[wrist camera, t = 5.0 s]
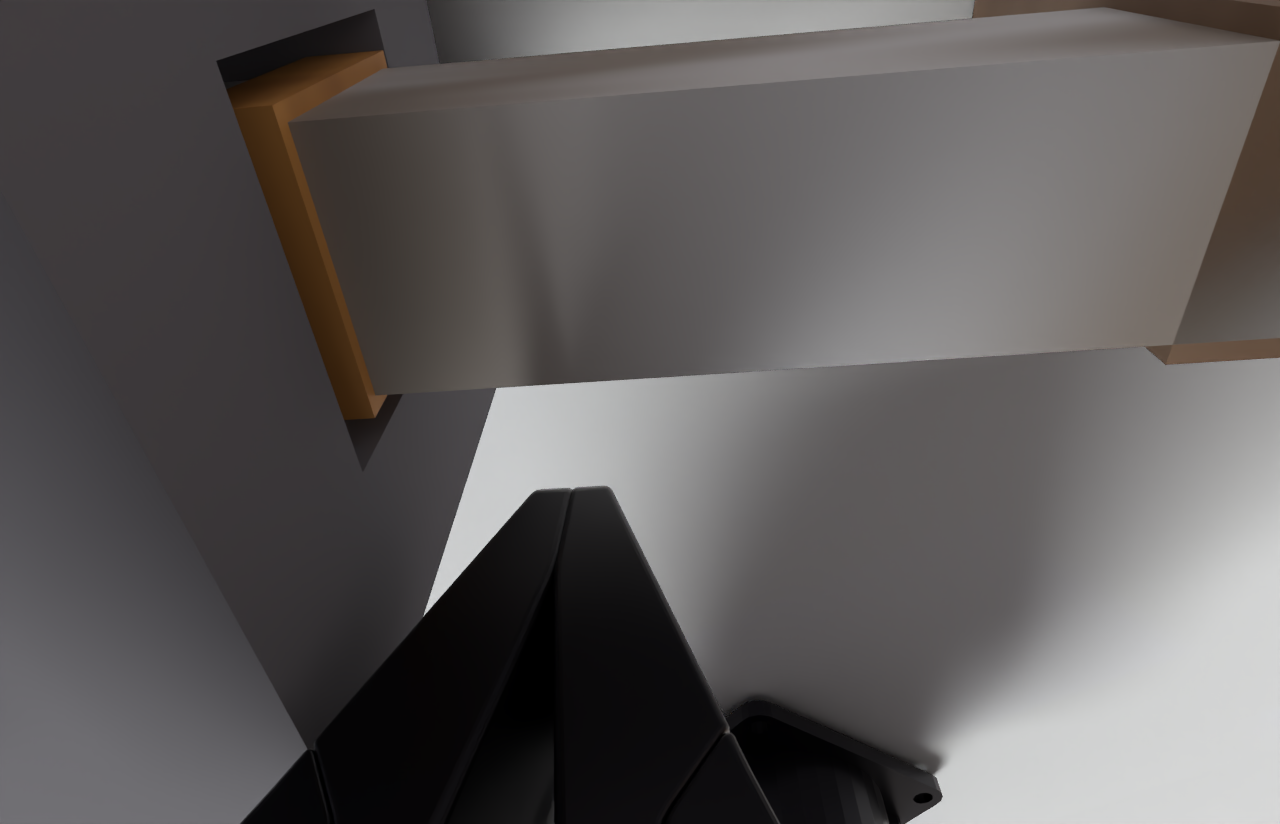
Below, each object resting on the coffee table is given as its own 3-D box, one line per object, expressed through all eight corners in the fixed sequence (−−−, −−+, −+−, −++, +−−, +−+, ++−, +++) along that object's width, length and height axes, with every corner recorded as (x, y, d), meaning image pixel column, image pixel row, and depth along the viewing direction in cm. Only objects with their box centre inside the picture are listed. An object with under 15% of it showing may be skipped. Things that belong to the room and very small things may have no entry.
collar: (380, -223, 8) (-478, -687, 2) (502, 368, 12) (353, 833, 6) (120, -196, 8) (-1471, -549, 2) (327, 379, 13) (3, 844, 6)
